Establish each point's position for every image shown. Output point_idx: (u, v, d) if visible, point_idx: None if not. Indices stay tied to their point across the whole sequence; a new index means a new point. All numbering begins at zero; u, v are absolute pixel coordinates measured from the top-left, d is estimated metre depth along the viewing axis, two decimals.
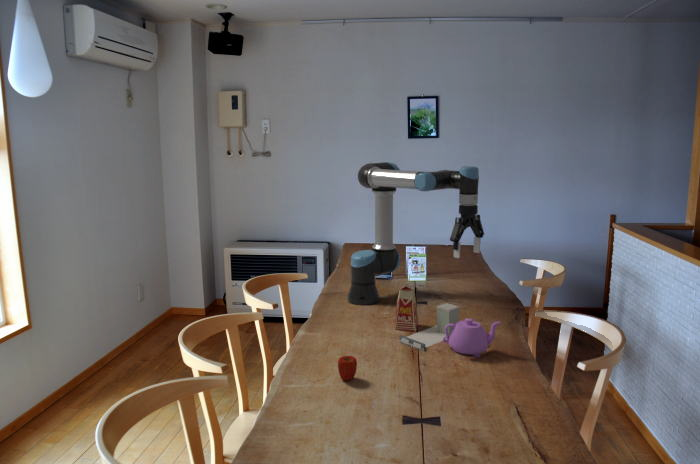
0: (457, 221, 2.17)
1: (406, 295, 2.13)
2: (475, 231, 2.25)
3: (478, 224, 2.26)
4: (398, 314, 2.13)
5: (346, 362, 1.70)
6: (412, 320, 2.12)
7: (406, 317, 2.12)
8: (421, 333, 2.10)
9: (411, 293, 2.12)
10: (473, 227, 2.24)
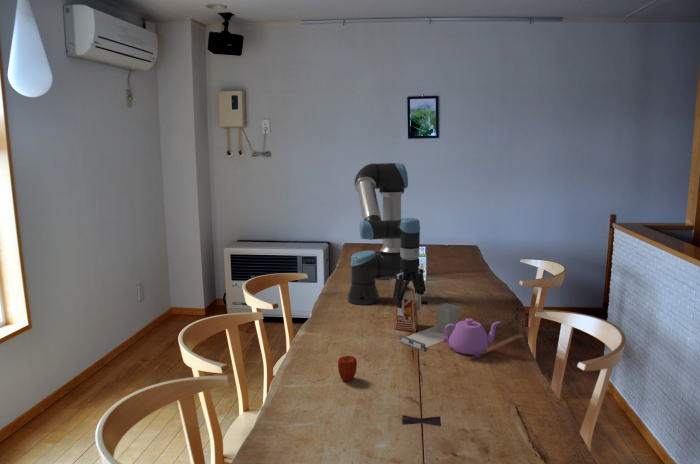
0: (397, 278, 2.08)
1: (406, 295, 2.12)
2: (416, 286, 2.16)
3: (420, 279, 2.16)
4: None
5: (346, 362, 1.70)
6: (412, 320, 2.12)
7: (406, 317, 2.12)
8: (421, 333, 2.10)
9: (411, 293, 2.12)
10: (414, 282, 2.15)
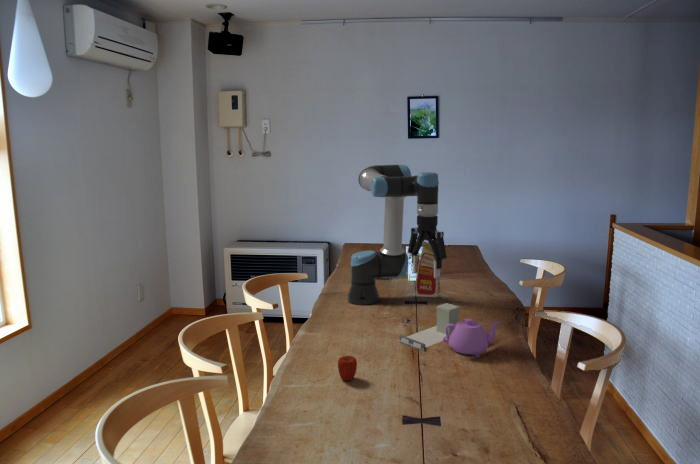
0: None
1: None
2: None
3: None
4: None
5: (346, 362, 1.70)
6: (416, 280, 2.00)
7: None
8: (421, 333, 2.10)
9: (421, 253, 1.98)
10: None
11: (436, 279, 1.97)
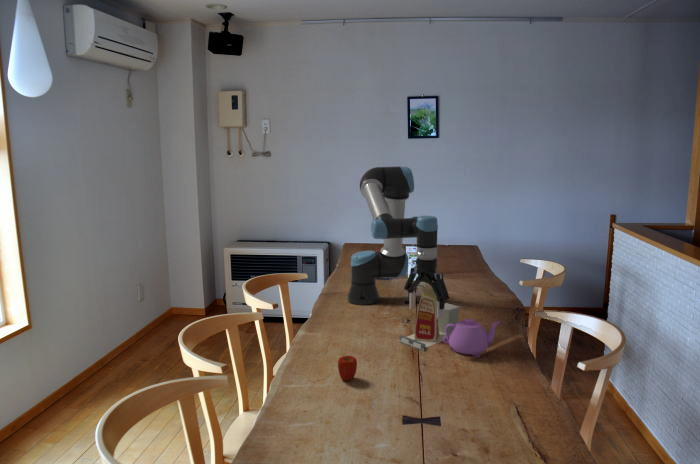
0: None
1: None
2: None
3: None
4: None
5: (346, 362, 1.70)
6: (415, 325, 2.03)
7: None
8: None
9: None
10: None
11: (435, 324, 2.01)
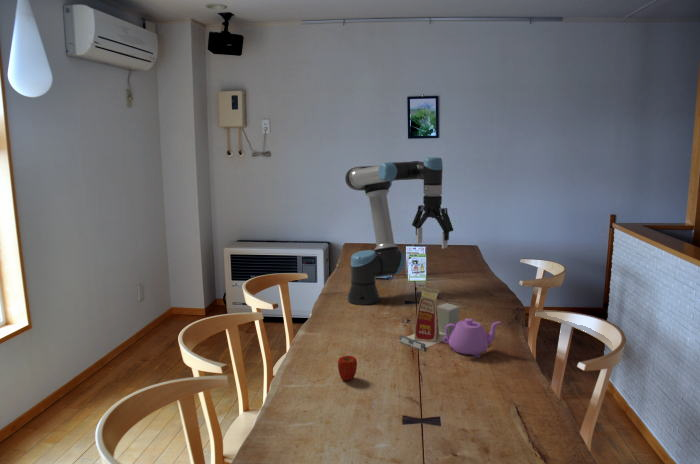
0: None
1: None
2: None
3: None
4: None
5: (346, 362, 1.70)
6: (415, 325, 2.03)
7: None
8: None
9: None
10: None
11: (435, 324, 2.01)
